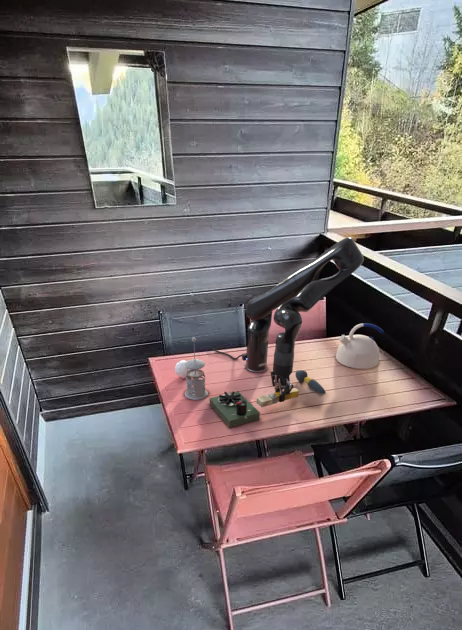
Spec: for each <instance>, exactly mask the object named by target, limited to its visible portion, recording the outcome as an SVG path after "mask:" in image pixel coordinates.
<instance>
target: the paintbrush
mask: <svg viewBox="0 0 462 630" xmlns="http://www.w3.org/2000/svg"><path fill="white" fill-rule="evenodd" d="M295 378H296V380H297V381H298V382H300V383H301V382H302V383H303V382H305V384H306V386H308V388H310V389H311V390H313V391H314V392H316V393H318V394H321V395H326V389H325V388H324V387H323V386H322V384H321V383H319V382H318V381H317V380H315V379H314V378H311V377H308V373H307V371H306V370H303V369H297V370H296V371H295Z"/></svg>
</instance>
